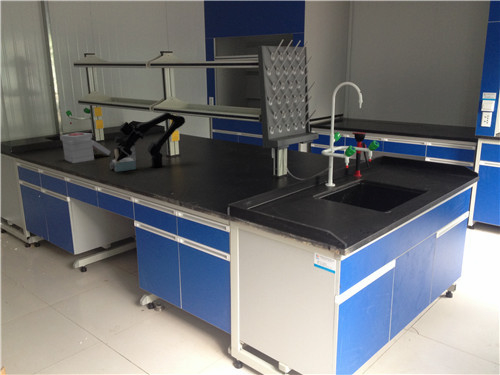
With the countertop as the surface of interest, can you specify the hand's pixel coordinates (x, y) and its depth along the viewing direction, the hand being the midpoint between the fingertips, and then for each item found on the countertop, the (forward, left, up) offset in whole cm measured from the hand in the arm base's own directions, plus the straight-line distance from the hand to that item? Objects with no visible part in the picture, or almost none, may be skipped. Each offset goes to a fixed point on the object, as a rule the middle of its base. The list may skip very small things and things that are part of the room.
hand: (115, 159), depth 267 cm
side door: (-3, -5, -8) cm, 10 cm away
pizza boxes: (+51, -15, -8) cm, 54 cm away
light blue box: (+3, -8, -8) cm, 11 cm away
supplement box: (+16, -23, -8) cm, 29 cm away
